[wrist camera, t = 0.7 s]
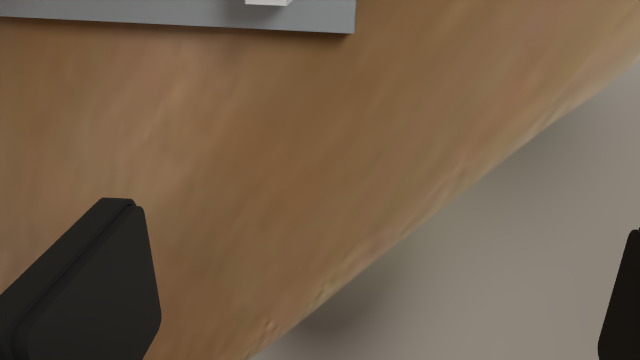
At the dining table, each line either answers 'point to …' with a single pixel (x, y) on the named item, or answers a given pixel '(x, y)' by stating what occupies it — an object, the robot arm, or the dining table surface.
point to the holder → (198, 12)
